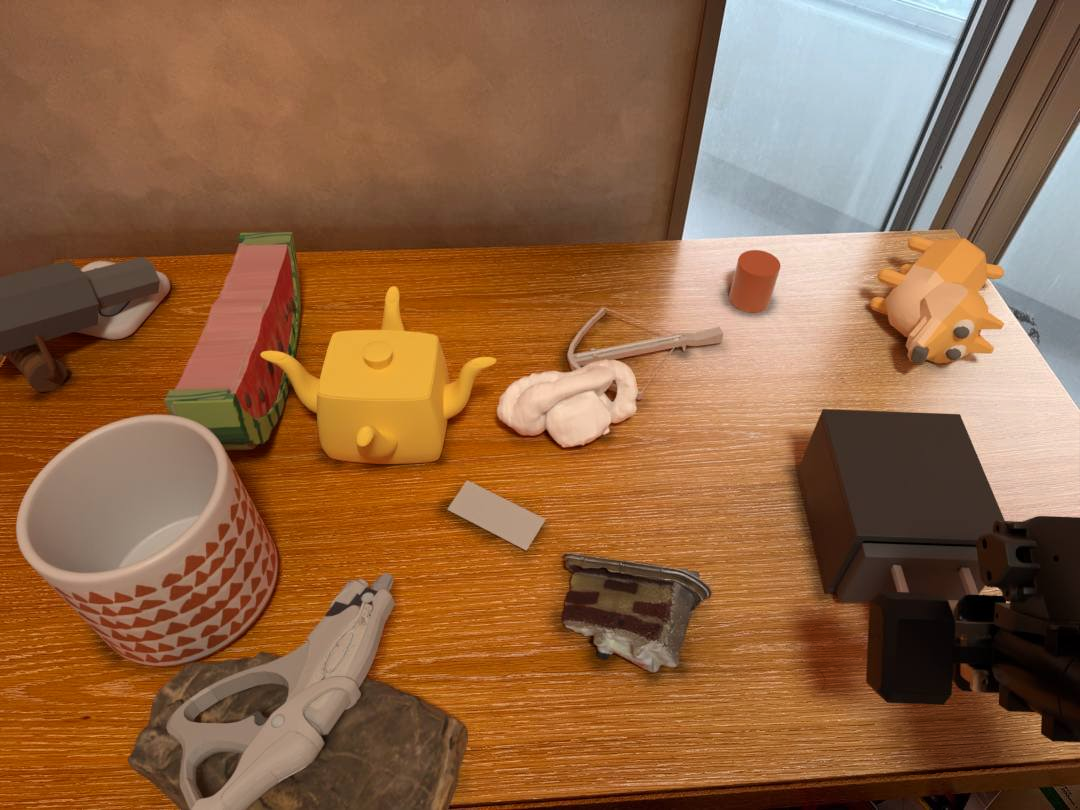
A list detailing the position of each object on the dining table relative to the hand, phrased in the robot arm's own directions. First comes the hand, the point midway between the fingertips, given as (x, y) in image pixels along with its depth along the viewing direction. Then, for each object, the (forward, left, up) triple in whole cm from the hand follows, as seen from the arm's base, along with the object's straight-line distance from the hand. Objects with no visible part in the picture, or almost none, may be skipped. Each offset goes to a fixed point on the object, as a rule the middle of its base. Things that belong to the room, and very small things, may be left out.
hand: (959, 614), depth 58 cm
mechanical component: (+74, +32, +2) cm, 81 cm away
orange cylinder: (+35, -23, -7) cm, 42 cm away
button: (+81, +24, -6) cm, 85 cm away
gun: (+32, +39, -1) cm, 50 cm away
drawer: (+6, -5, -6) cm, 10 cm away
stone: (+25, +39, -7) cm, 46 cm away
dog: (+26, -33, -4) cm, 42 cm away
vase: (+42, +38, -6) cm, 57 cm away
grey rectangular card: (+31, +16, -6) cm, 36 cm away
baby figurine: (+39, +2, -2) cm, 39 cm away
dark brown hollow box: (+9, -7, -7) cm, 13 cm away
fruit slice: (+57, +24, -7) cm, 62 cm away
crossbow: (+36, -8, -7) cm, 38 cm away
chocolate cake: (+17, +15, -7) cm, 24 cm away
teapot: (+45, +17, -7) cm, 49 cm away
